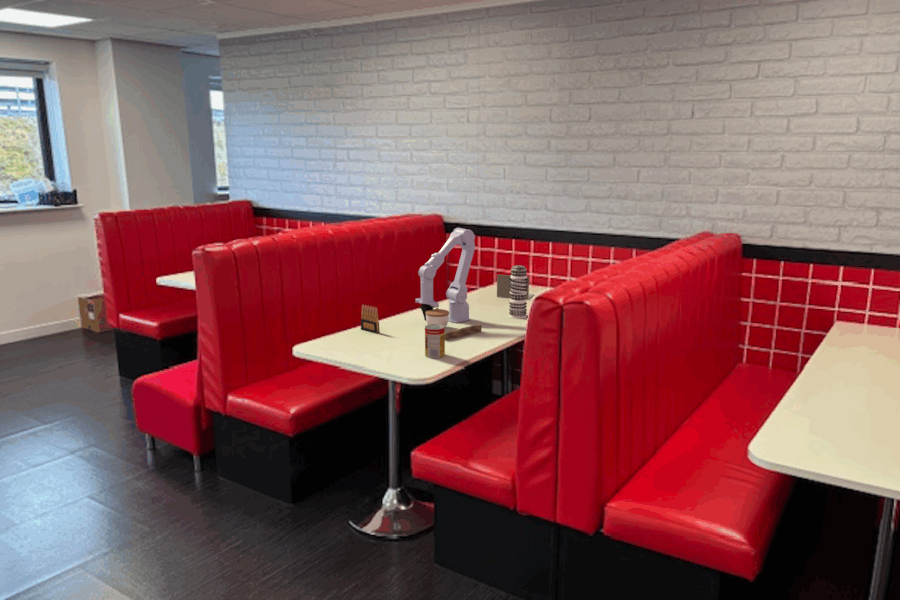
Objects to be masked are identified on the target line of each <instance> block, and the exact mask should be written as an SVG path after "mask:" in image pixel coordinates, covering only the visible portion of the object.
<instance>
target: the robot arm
mask: <svg viewBox="0 0 900 600" xmlns="http://www.w3.org/2000/svg"><path fill="white" fill-rule="evenodd" d="M475 239H476V235H475V234H474V232H473V230H471V229H469V228H468V229H466V228H461V227H456V228H454V229H453V231H452V232H451V233H450V234H449V238H448V239H447V240H446V242H445V243H444V244H443V246H442V247H441V249H440V250H439V251H438V252H434V253H431V255H430V256H431V257H430V258H429V260H428V261H427V262H425V263H424V265H422V266H420V268H419V270H418V271H417V273H418V276H419V277H420V279H419V280H420V297H418V298H415V303H417V304H420V305H419V308H420V310H421V312H422V315H423V319H424V321H426V311H427V310H431V309H436V308H439V307H440V306H439V305H440V303H439V302H437V301H436V300H434V278H435V276H436V274H437V270H438V269H439V268H440V267H441V266H442V264H443V263H445V257H446V256H447V255H449V253H450V251H451V250H452V249H453V248H454V247H455V246H460V247H461V250H462V251H461V253H460V254H461V255H460V258H459V260H458V261H459V262H458V266H457V268H456V269H457V270H456V273H455V277H454V280H453V281H452V282H451V283H450V285H449V287H448V289H447V290H446V292H445V294H446V295H445V296H446V298H447V299H448V311H449V319H448V322H451V323H454V324H458V323H462V322H466V321H471V318H470V305H469V303H468V301H467V299H468V286H467V285H466V283H467V279H468V275H469V272H470V269H471V268H470V267H471V263H472V261H473V257H474V253H475V249H476V245H475V244H476V243H475Z"/></svg>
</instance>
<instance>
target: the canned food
mask: <svg viewBox="0 0 900 600" xmlns="http://www.w3.org/2000/svg"><path fill="white" fill-rule="evenodd" d="M445 332H446V326H444V325H441V324H429V325H428V324H426V325H425V326H424V356H425V357H426V358H429V359H441V358H444V357H445V356H446V355H445V354H446V349H445V348H446V346H445V345H446V341H445Z"/></svg>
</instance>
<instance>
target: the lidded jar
mask: <svg viewBox="0 0 900 600" xmlns="http://www.w3.org/2000/svg"><path fill="white" fill-rule="evenodd" d="M448 319H449V310H447V309H443V308H439V307H437V308H433V309H431V310H427V311H426V320H425V321H426V325H429V324H441V325H444V326H445V327H446V326H447V325H448V323H449V321H448Z"/></svg>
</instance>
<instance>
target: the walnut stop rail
mask: <svg viewBox="0 0 900 600" xmlns="http://www.w3.org/2000/svg"><path fill="white" fill-rule="evenodd" d="M482 327H483V326H482V324H479V323H478V324H474V325H469V326H465V327H461V328H457V329H454V330H449V331H448V330H447V331H445V340H446V341H448V340H449V339H450V340H453V338H454V339H457V338H460V337H464V336H468V335H472V334H478V333H482Z"/></svg>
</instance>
